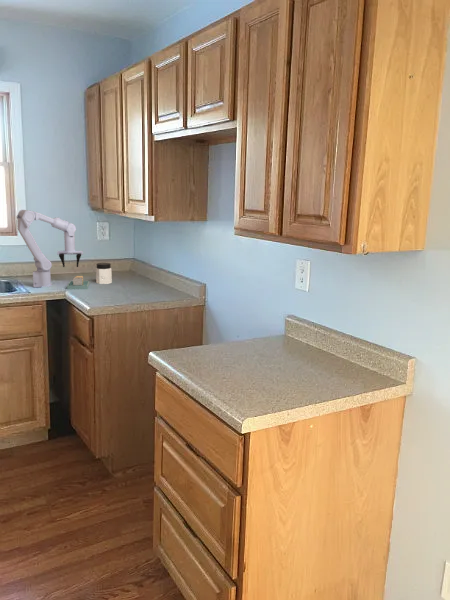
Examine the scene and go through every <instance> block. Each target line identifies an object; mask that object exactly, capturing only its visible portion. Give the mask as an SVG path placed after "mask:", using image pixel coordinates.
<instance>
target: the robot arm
mask: <svg viewBox="0 0 450 600" xmlns="http://www.w3.org/2000/svg"><path fill="white" fill-rule="evenodd" d="M16 220H17V231H18V233H19V235H20V236H21V238H22V239H23V242H24V243H25V244H26V247H28V248H27V249H28V250H29V251H30V253H31V254H32V257H33V261H34V265H35V267H36V268H37V269H36V270H33V272H32V281H33V282H32V283H33V288H43V287H52V285H53V283H52V277H51V275H52V274H51V269H52V266H53V264H52V262H51V261H50V260H49V259H47V257H46V255H45V254H43V252H42V249H41V248H40V247H39V245H38V243H37V242H36V239H35V238H34V236H33V234H32V233H31V231H30V226H31V224H32V223H33V222H34V221H37V220H39V221H41V222H45V223H47V224H50V225H51V227H52V228H54V229H57V230H58V231H59V230H60V231H61V232H62V231H63V232H64V233H63V235H64V236H63V237H64V250H57V251H56V255H57V256H58V258H59V259H60V261H61V263H62V267H63V268H65V267H66V266H65V265H66V264H65V255H76V256H75V257H76V268H78V267H79V263H80V260H81V257H82V255H84V251H83V250H76V241H75V240H76V239H75V232H76V231H77V227H76V225H75V224H74V223H72V222H69V221H68V220H64V219H61V217H59V216H58V217H54V218H52V217H50V216H47V215H45V214H43V213H40V212H37V211H33V210H28V209H21V210H19V211H18V213H17V215H16Z"/></svg>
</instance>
